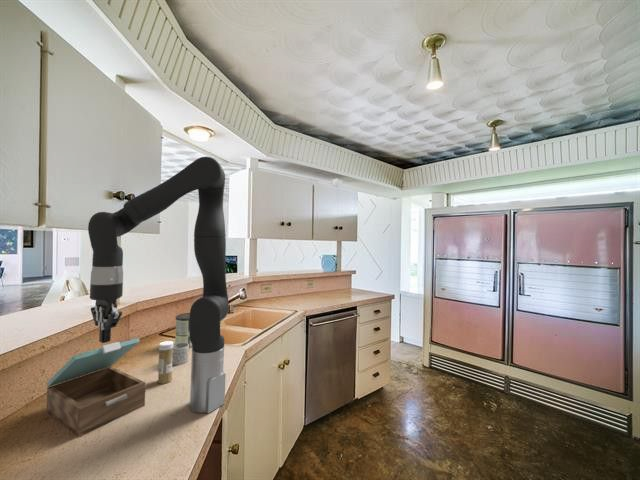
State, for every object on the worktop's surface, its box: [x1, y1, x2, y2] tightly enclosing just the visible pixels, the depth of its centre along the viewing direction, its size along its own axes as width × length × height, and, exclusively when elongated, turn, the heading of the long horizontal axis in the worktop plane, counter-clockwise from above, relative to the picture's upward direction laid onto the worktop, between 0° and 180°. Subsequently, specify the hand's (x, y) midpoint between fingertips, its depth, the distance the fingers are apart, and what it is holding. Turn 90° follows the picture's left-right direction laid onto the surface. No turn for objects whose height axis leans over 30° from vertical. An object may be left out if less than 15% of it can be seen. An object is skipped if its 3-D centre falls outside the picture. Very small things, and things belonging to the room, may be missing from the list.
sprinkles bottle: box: [157, 340, 174, 385], centre depth 99 cm, size 5×5×14 cm
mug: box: [172, 343, 190, 366], centre depth 113 cm, size 10×7×7 cm
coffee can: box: [174, 312, 192, 349], centre depth 133 cm, size 10×10×14 cm
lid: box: [46, 337, 141, 388], centre depth 83 cm, size 21×16×2 cm
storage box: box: [46, 366, 146, 438], centre depth 82 cm, size 21×16×7 cm
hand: (104, 341), depth 81 cm, fingers closed
